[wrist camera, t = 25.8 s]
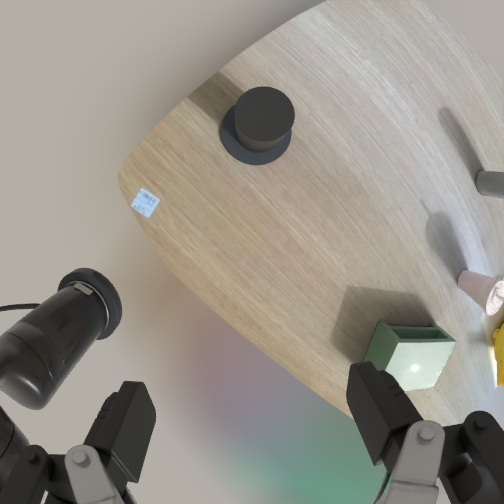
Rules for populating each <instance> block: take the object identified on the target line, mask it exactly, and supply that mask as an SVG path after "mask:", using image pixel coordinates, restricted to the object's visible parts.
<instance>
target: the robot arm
mask: <svg viewBox="0 0 504 504" xmlns="http://www.w3.org/2000/svg"><path fill="white" fill-rule="evenodd" d="M15 309H34V310H32V311H31V312H30V313H28V314H27V315H26V316H25V317H23V318H22V319H21V320H19V321H18V322H17V323H16V324H14V325H13V326H12V327H11V328H9V329H8V330H7V331H6V332H4V333H3V334H2V335H1V336H0V390H1V391H3V392H4V393H5V394H7V395H8V396H9V397H11V398H12V399H13V400H15V401H16V402H17V403H19V404H21V405H22V406H24V407H26V408H29V409H32V410H40V409H42V408H44V407H45V406H46V405H47V404H48V403H49V401H50V400H51V398H52V397H53V396H54V394H55V392H56V391H57V390H58V389H59V387H60V386H61V384H62V383H63V382H64V380H65V379H66V378H67V376H68V375H69V374H70V372H71V371H72V370H73V368H74V367H75V366H76V364H77V363H78V362H79V361H80V359H81V358H82V357H83V355H84V354H85V353H86V352H87V350H88V349H89V348H90V346H91V345H92V344H93V342H95V340H96V339H97V338H98V337H99V335H100V334H101V333H102V332H103V331H104V330H105V329H106V328H107V326H108V324H109V321H110V311H109V307H108V304H107V302H106V300H105V298H104V296H103V295H102V294H101V292H100V291H99V290H98V289H97V288H96V287H95V286H93V285H92V284H90V283H88V282H86V281H82V280H75V281H72V282H70V283H69V284H67V285H66V286H65V287H64V288H63V289H61V290H60V291H58V292H57V293H56V294H54V295H53V296H51V297H50V298H48V299H47V300H46V301H44V302H43V303H42V304H35V303H34V304H16V305H8V306H2V307H0V311H7V310H15ZM346 398H347V403H348V406H349V409H350V411H351V413H352V415H353V418H354V420H355V422H356V424H357V427H358V429H359V432H360V434H361V436H362V438H363V441H364V443H365V446H366V448H367V450H368V453H369V455H370V457H371V460H372V462H373V465H374V466H376V465H379V464H382V463H384V465H385V467H386V469H387V472H386V474H385V477H384V479H383V481H382V484H381V486H380V488H379V491H378V493H377V495H376V497H375V499H374V501H373V504H435V503H436V500H437V497H438V492H439V488H438V487H437V486H435V483H436V479H437V477H439V478H440V480H441V482H442V484H443V486H444V489H445V491H446V493H447V495H448V498H449V500H450V502H451V504H504V431H503V430H502V428H501V427H500V425H499V424H498V423H497V421H496V420H495V419H494V417H493V416H492V415H491V414H489V413H488V412H485V411H475V412H472V413H470V414H469V415H468V416H467V417H466V419H465V421H464V423H462V424H457V425H451V426H445V427H442V426H441V425H440V424H438V423H436V422H434V421H430V420H423V418H422V417H421V415H420V414H419V412H418V411H417V409H416V408H415V407H414V405H413V404H412V402H411V401H410V399H409V398H408V396H407V395H406V393H404V390H403V389H402V388H401V386H399V383H398V382H397V380H396V379H395V378H394V376H393V375H391V374H390V373H388V372H386V371H385V370H380V371H377V369H376V368H375V366H374V365H373V363H372V362H371V361H370V360H368V361H364V362H360V363H355V364H351V366H350V371H349V378H348V385H347V391H346ZM155 422H156V411H155V407H154V405H153V403H152V400H151V398H150V396H149V394H148V391H147V388H146V386H145V384H144V383H143V382H135V381H134V382H133V381H124V382H123V384H122V386H121V388H120V390H119V392H114V393H112V394H111V395H110V397H108V398H107V399H106V400H105V402H104V404H103V406H102V408H101V411H99V413H98V415H97V418H96V419H95V421H94V423H93V425H92V427H91V429H90V431H89V433H88V435H87V437H86V439H85V441H84V443H83V445H78V446H75V447H73V448H71V449H70V450H69V451H68V452H67V454H66V455H58V454H56V455H55V454H48V453H47V452H46V451H45V450H44V449H43V448H42V447H41V446H39V445H30V444H29V441H28V439H27V438H26V437H25V435H24V434H23V433H22V432H21V430H20V429H19V428H18V427H17V426H16V424H15V423H14V422H13V421H12V420H11V418H10V417H9V416H8V415H7V413H6V412H5V411H4V409H3V408H2V407H1V406H0V504H40V503H41V501H42V498H43V495H44V492H45V490H46V491H47V492H48V495H47V498H46V501H45V503H44V504H137V503H136V501H135V499H134V497H133V496H132V494H131V492H130V490H129V489H128V487H127V486H126V485H127V482H128V481H129V482H134V483H138V481H139V477H140V474H141V470H142V467H143V463H144V460H145V456H146V452H147V449H148V445H149V442H150V438H151V435H152V432H153V428H154V425H155Z"/></svg>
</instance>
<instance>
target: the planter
mask: <svg viewBox="0 0 504 504" xmlns="http://www.w3.org/2000/svg"><path fill="white" fill-rule="evenodd" d="M476 186H477V190H478V192H479V193H480V194H481V195H485V196H491V197H497V198H502V199H504V172H495V171H480V172H479V173H478V174H477V177H476Z"/></svg>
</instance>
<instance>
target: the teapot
mask: <svg viewBox="0 0 504 504" xmlns="http://www.w3.org/2000/svg"><path fill="white" fill-rule="evenodd" d="M492 337H493V338H494V339H496V341H495V345H494V353H495V359H496V361H497V386H501V385H504V323H503V325H502V327H501V329H498V328H497V329H496V330H495V331H494V333H493V336H492Z"/></svg>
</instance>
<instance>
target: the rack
mask: <svg viewBox="0 0 504 504" xmlns="http://www.w3.org/2000/svg"><path fill="white" fill-rule="evenodd" d="M455 343H456V341H455V340H454V339H453V338H452V337H451V336H450V335H449V334H447V333H446V332H445V331H444V330H443V329H442V328H440V327H439V326H438V325H437V324H431V327H410V326H388V325H387V324H386V323H385V322H384V321H379V322H378V324H377V327H376V330H375V332H374V335H373V337H372V340H371V342H370V345H369V347H368V350H367V352H366V355H365V357H364V359H363V362H364V361H368V360H370V361H371V362H372V363H373V365H374V366H375V368H376V369H377V371H380V370H385V371H386V372H388V373H390V374H391V375H393V376H394V378H395V379H396V380H397V382H398V383H399V386H401V388H402V389H403V390H404V391H409V390H417V389H424V388H430V387H433V385H434V384H435V382H436V380H437V378H438V377H439V375H440V373H441V371H442V369H443V367H444V366H445V364H446V362H447V360H448V358H449V356H450V354H451V352H452V350H453V348H454V345H455Z"/></svg>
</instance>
